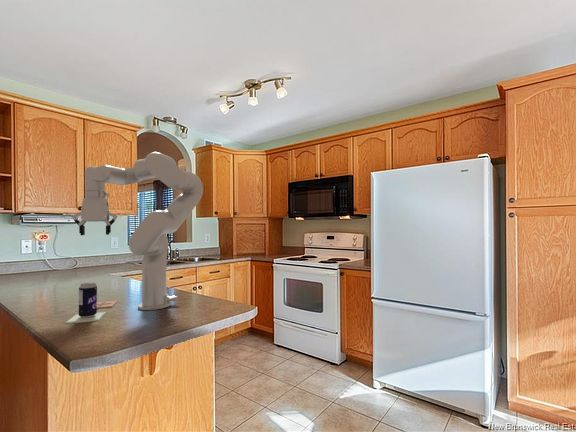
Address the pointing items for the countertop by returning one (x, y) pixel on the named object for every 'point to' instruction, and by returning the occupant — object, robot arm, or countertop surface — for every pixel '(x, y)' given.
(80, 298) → the beverage can
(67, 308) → the countertop surface
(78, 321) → the pad
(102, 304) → the pad
